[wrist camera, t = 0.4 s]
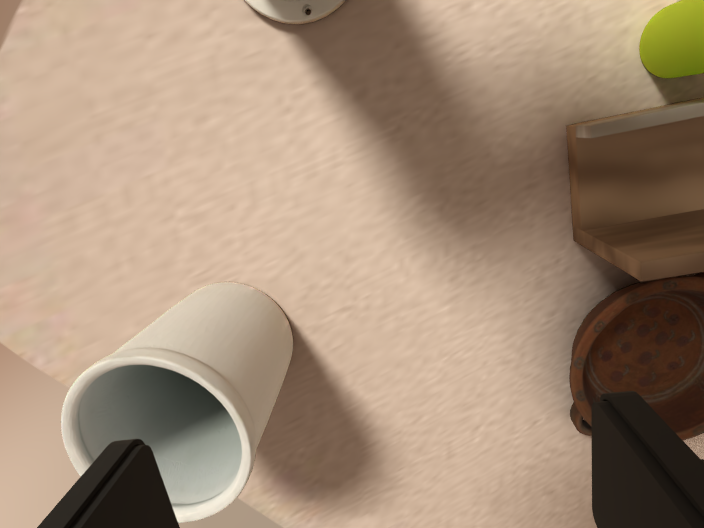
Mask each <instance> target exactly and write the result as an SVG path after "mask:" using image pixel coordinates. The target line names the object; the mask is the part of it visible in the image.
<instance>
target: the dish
mask: <svg viewBox="0 0 704 528" xmlns="http://www.w3.org/2000/svg"><path fill="white" fill-rule="evenodd" d="M571 360H572V362H571V366H570V388H571V392H572V397H573V400H574V403H573V405H572V407H571V410H570V417H571V420H572V422H573V424H574V425H575V427H576V429H577V430H578V431H579V432H580V433H582V434H585V435H589V436H592V411H591V409H592V404H593V403H594V402H600V397H601V395H602V394H604V393H614V392H625V391H635V392H637V393H638V394H639V395H640V396H641V397H642V398H643V399H644V400H645V401H646V402H647V403H648V404H649V406H650V407H651V408H652V409H653V410H654V411H655V412H656V413H657V414H658V415H659V416H660V417H661V418H662V419H663V420H664V421H665V422H666V424H667V425H668V426H669V427H670V428H671V429H672V430H673V431H674V432H675V433H676V434H677V435H678V436H679V437H680V438H681V439H682V440H686V439H689V438H692V437H695V436H697V435H700V434H702V433H704V272H699V273H697V274H696V275H694V276H692V277H691V276H682V277H669V278H663V279H658V280H654V281H646V282H642V283H638V284H634V285H631V286H628V287H625V288H623V289H621V290H619V291H617V292H615V293H613V294H611V295H610V296H608V297H607V298H605V299H604V300H603V301H601V302H600V303H599V304H598V305H597V306H596V307H594V308H593V309H592V311H591V312H590V313H589V314H588V315H587V316H586V318H585V319H584V321H583V322H582V324H581V326H580V327H579V329H578V331H577V334H576V337H575V339H574V343H573V347H572V359H571ZM583 418H584V419H585V420H582V419H583Z"/></svg>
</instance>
